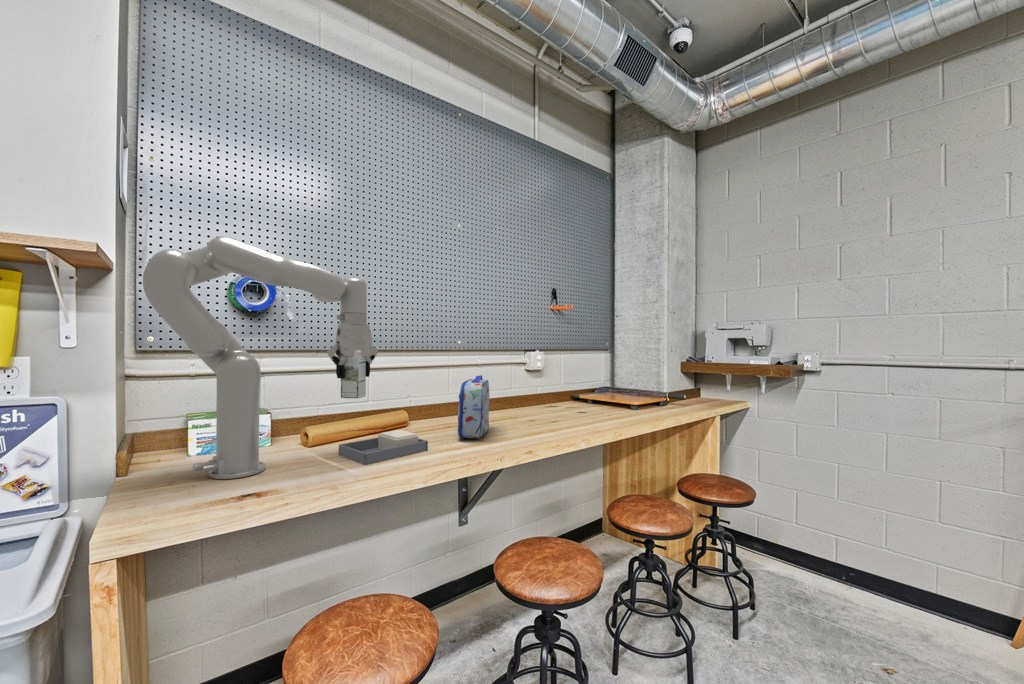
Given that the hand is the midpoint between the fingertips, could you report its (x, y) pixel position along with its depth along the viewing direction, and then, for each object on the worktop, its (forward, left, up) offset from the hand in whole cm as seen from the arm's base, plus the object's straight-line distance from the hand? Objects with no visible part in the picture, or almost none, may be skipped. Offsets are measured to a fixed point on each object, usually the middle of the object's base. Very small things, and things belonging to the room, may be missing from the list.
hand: (353, 377), depth 129 cm
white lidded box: (+11, -7, -23) cm, 27 cm away
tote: (+6, -7, -24) cm, 26 cm away
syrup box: (0, 0, -6) cm, 6 cm away
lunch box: (+46, -5, -24) cm, 53 cm away
